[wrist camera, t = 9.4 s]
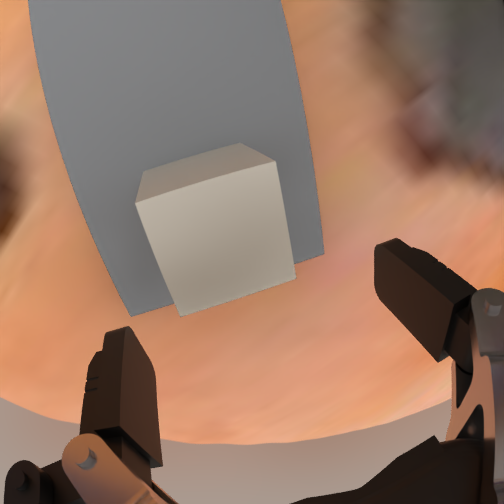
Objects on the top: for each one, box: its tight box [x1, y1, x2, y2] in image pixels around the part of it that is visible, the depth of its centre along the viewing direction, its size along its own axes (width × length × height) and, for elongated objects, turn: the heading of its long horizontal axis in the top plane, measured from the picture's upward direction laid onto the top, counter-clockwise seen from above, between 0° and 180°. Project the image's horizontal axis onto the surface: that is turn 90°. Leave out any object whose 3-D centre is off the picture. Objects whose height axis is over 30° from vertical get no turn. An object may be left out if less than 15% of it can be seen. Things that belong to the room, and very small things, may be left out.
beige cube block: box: [135, 143, 296, 317], centre depth 16 cm, size 6×6×6 cm
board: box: [28, 0, 324, 317], centre depth 13 cm, size 14×26×6 cm, turn 12°
